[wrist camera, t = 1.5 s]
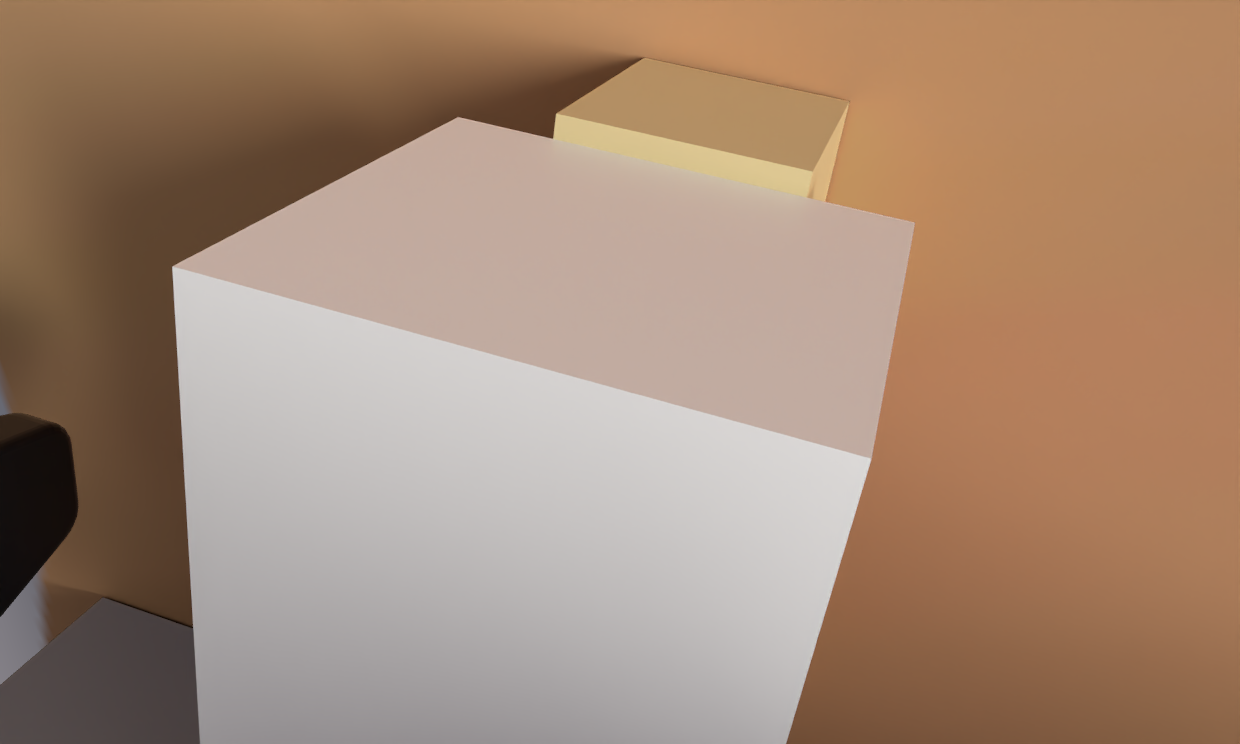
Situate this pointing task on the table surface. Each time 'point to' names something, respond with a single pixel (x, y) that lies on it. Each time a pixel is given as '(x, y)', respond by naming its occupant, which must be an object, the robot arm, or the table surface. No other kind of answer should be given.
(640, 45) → the table surface
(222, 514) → the plug
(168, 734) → the socket
